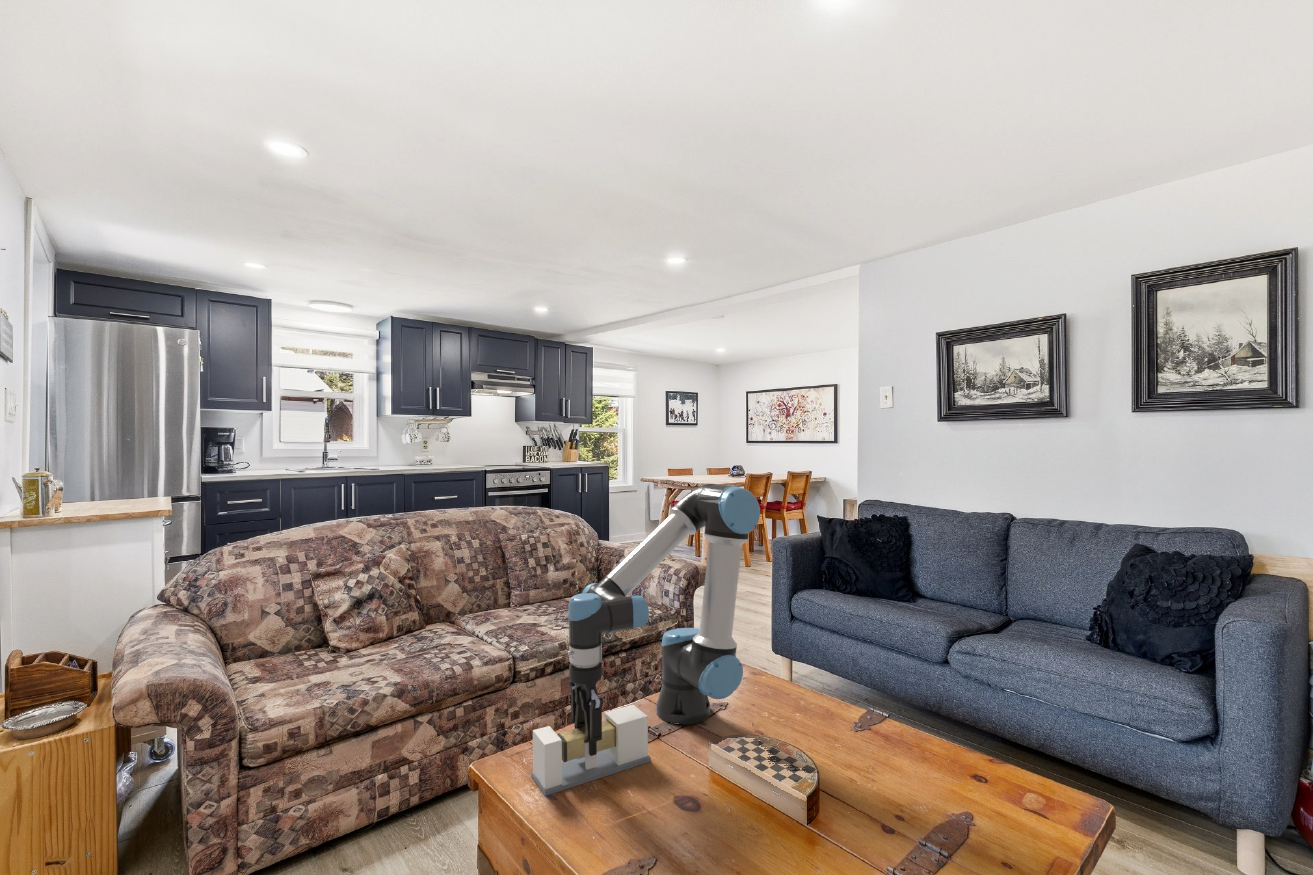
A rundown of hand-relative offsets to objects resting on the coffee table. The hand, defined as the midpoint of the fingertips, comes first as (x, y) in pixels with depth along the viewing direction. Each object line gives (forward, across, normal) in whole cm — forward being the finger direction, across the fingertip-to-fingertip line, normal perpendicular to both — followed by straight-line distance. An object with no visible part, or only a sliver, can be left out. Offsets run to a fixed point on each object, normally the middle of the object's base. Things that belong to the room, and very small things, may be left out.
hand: (586, 761), depth 142 cm
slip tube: (-3, 0, +3) cm, 4 cm away
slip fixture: (+2, 0, +1) cm, 2 cm away
